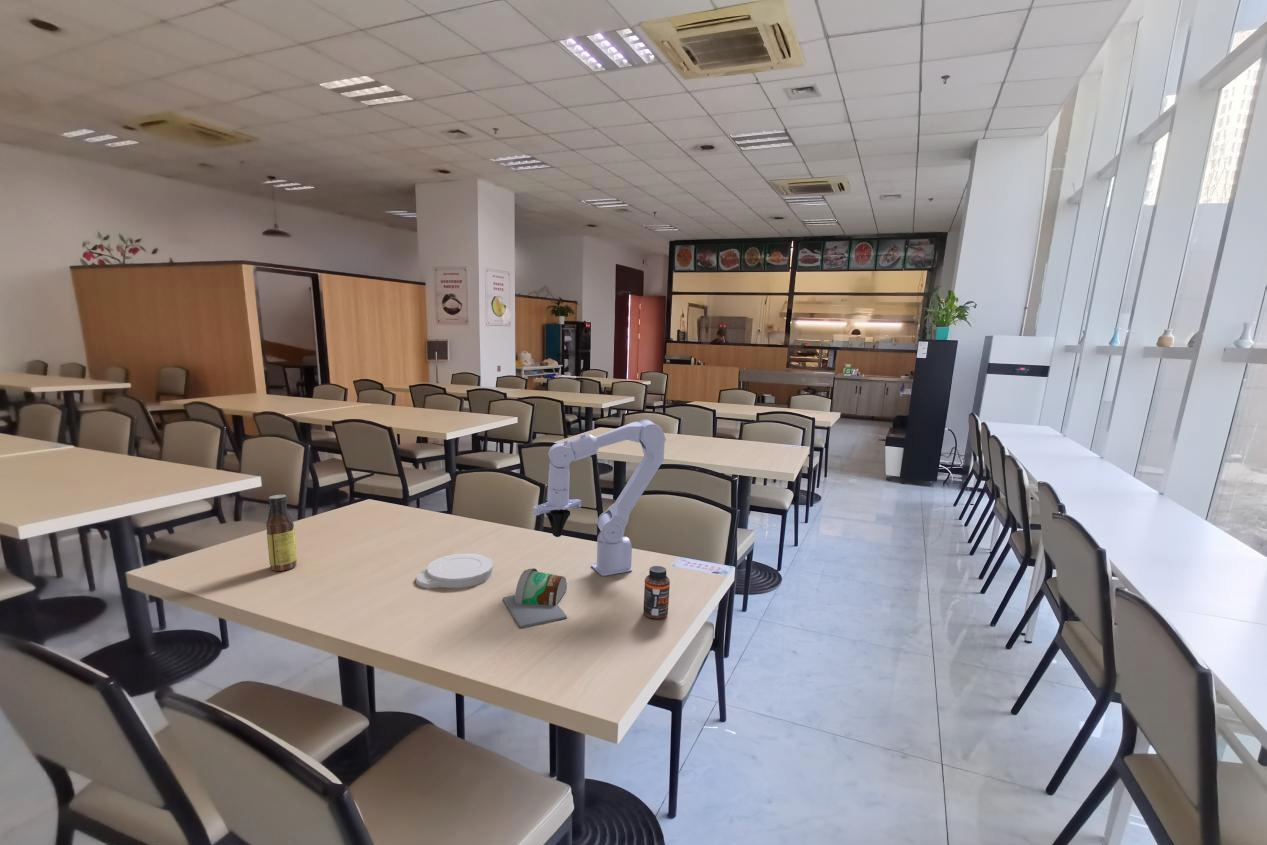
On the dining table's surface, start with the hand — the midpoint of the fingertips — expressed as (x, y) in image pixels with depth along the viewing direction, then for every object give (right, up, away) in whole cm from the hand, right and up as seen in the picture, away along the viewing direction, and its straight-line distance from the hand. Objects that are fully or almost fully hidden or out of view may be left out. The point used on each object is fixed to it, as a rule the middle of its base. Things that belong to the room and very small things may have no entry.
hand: (556, 535), depth 151 cm
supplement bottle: (+26, -15, -20) cm, 36 cm away
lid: (-27, -11, -4) cm, 29 cm away
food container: (+3, -9, -15) cm, 18 cm away
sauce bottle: (-74, -8, -3) cm, 74 cm away
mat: (-3, -13, -20) cm, 24 cm away
